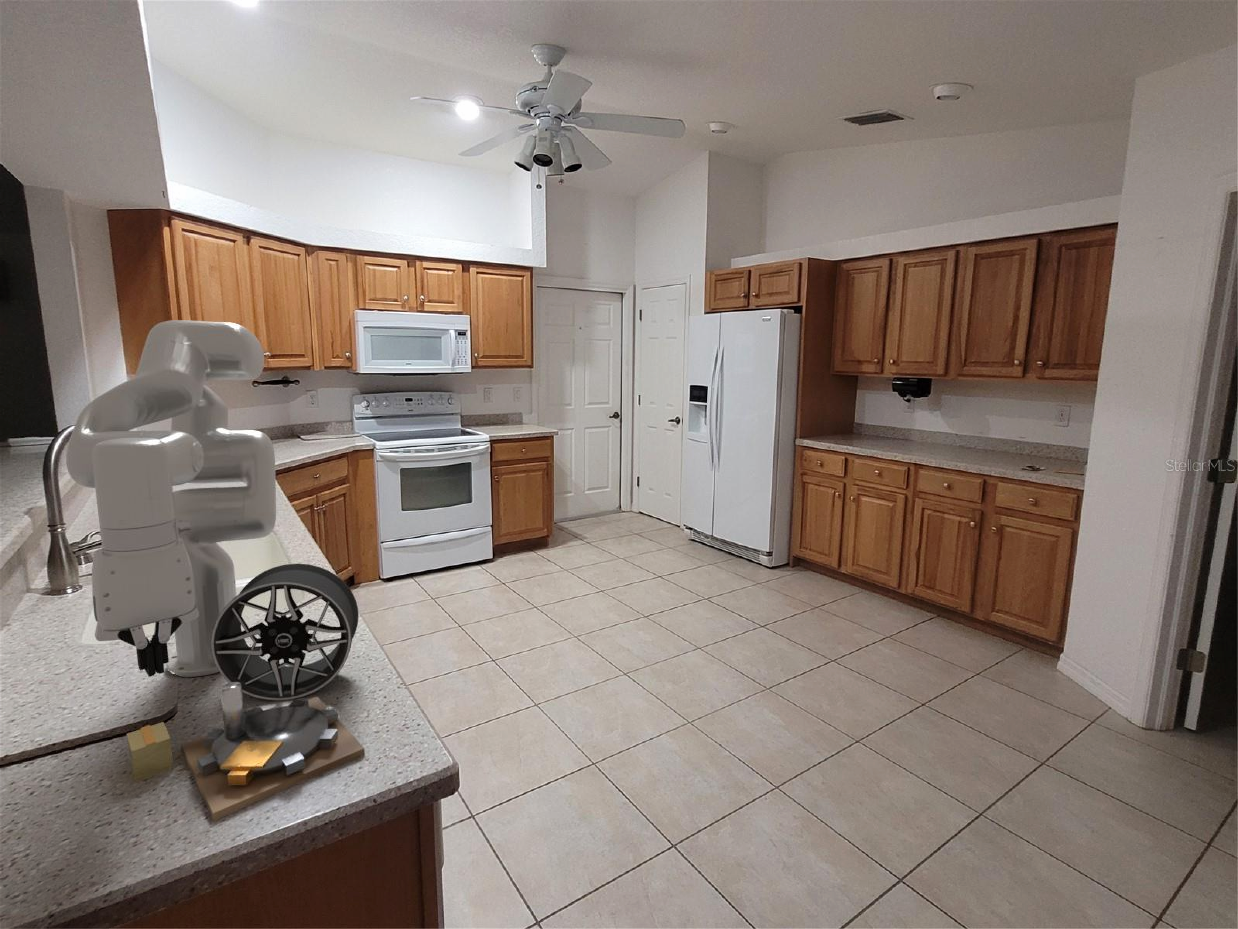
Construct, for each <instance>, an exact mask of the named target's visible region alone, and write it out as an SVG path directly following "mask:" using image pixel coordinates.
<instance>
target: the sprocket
mask: <svg viewBox="0 0 1238 929" xmlns="http://www.w3.org/2000/svg"><path fill="white" fill-rule="evenodd" d="M220 699H221V710H222V720H223V721H222V722H223V728H219V729H217V728H213V730H212V731H210V732H209V733H208V734H206V735H207V736H206V735H205V736H206V737H205V738H204V745H205V748H212V749H211V751H212V753H210V754H207V755H205V756H202V757H200V758H197V760H198V768H199V770H200V772H201V774H202V775H203V776H204V775H207V774H209V773H212V772H214V771H217V770H218V771H219V772H221V773H223V774H226V775H228V785H247V784H248V782H249V781H250V780H251V779H252V778H253V776H260V775H265V774H270V773H274V772H277V771H280V770H283V771H284V773H285V774H286V775H289V774H292V773H294V772H296V771H298V770H301V769H303V768H305V762H304V760H305V759H306V758H308V757H309V756H311V755H312V754H313V753H315V752H316V751H317V750H318V749H319V748H332V746H333V745H334V743H335V742H336V740H337V739H338V729H328V725H329V724H332V723H334V722H336V721H338V720H339V718H338V714H339V713H338V711H336V709H335V708H333V706H329V707H327V708H326V709H323V710H321V711H320V710H318V709H315V708H312V707H309V703H308V700H309V699H294V700H293V699H292V701H291V703H290V704H288V705H285V706H284V705H283V706H278V707H273V708H268V709H265V710H264V709H263V708H262V707H261V706H257V707H254V708H251V709H249V710H246V711H244V702H243V692H242V687H241V683H239V682H232V683H229V682H228V683H226V684H224V685H222V686H221V687H220Z"/></svg>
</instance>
